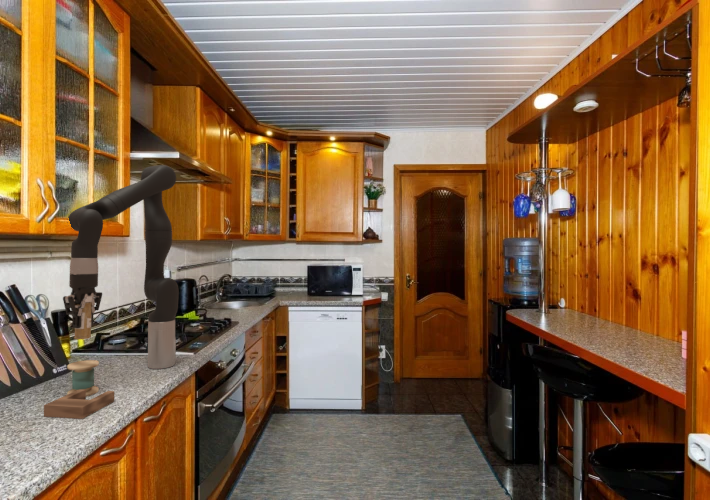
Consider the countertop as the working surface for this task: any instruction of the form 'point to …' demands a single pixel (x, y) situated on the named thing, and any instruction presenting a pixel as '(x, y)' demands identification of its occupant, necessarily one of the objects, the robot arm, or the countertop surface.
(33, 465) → the countertop surface
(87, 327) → the sprinkles bottle
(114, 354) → the countertop surface
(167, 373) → the countertop surface
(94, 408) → the c-shaped block
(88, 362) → the bobbin
